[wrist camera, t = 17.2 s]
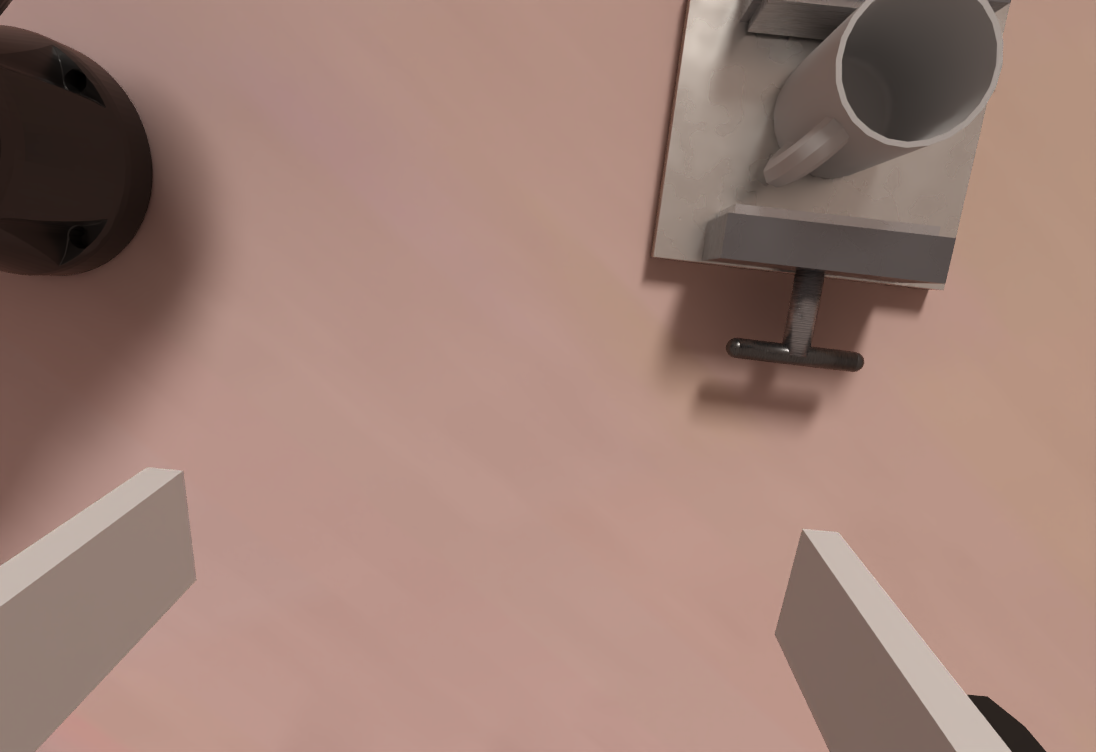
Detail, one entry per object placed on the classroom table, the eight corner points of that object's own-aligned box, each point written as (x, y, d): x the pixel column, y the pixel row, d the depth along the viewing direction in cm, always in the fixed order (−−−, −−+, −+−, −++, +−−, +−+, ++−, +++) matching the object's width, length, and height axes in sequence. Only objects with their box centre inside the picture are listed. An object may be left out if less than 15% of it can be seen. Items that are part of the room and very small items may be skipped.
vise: (638, 340, 39) (650, 353, 32) (689, -18, 35) (714, -84, 29) (910, 373, 38) (976, 392, 32) (992, 13, 34) (1086, -48, 28)
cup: (919, 119, 34) (1037, 65, 26) (785, 237, 36) (852, 224, 27) (843, 23, 34) (936, -66, 25) (709, 147, 35) (753, 104, 26)
